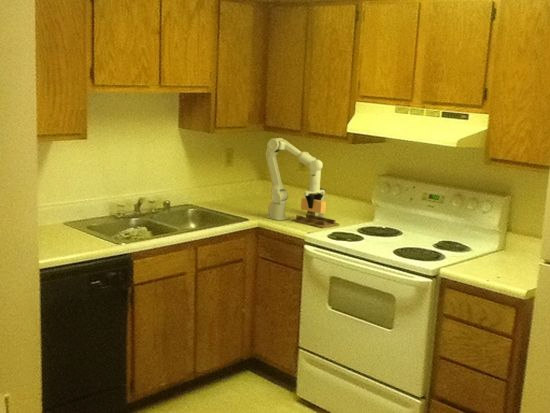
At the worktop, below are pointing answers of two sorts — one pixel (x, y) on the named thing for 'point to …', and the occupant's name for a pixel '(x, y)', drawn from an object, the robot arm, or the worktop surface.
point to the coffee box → (321, 200)
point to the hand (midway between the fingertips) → (313, 207)
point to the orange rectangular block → (314, 206)
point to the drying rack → (316, 221)
